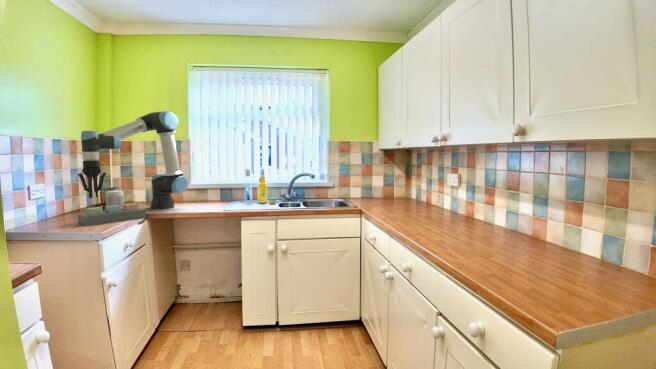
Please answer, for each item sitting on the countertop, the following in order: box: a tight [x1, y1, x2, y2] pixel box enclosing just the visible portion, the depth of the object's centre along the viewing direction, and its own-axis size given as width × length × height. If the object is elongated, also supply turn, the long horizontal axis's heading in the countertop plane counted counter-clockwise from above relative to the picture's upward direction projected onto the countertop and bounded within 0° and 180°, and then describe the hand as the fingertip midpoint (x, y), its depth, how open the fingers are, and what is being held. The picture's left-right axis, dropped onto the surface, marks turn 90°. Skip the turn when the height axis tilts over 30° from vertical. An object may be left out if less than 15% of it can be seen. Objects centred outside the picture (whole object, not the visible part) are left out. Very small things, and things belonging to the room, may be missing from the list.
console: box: [77, 207, 148, 227], centre depth 196 cm, size 30×14×5 cm, turn 140°
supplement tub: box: [105, 190, 125, 209], centre depth 212 cm, size 10×10×15 cm
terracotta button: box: [122, 202, 139, 211], centre depth 203 cm, size 6×6×4 cm
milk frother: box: [93, 186, 120, 211], centre depth 235 cm, size 14×16×15 cm
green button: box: [85, 206, 104, 215], centre depth 189 cm, size 6×6×4 cm
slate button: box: [104, 205, 121, 213], centre depth 196 cm, size 6×6×4 cm
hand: (93, 203), depth 189 cm, fingers closed
